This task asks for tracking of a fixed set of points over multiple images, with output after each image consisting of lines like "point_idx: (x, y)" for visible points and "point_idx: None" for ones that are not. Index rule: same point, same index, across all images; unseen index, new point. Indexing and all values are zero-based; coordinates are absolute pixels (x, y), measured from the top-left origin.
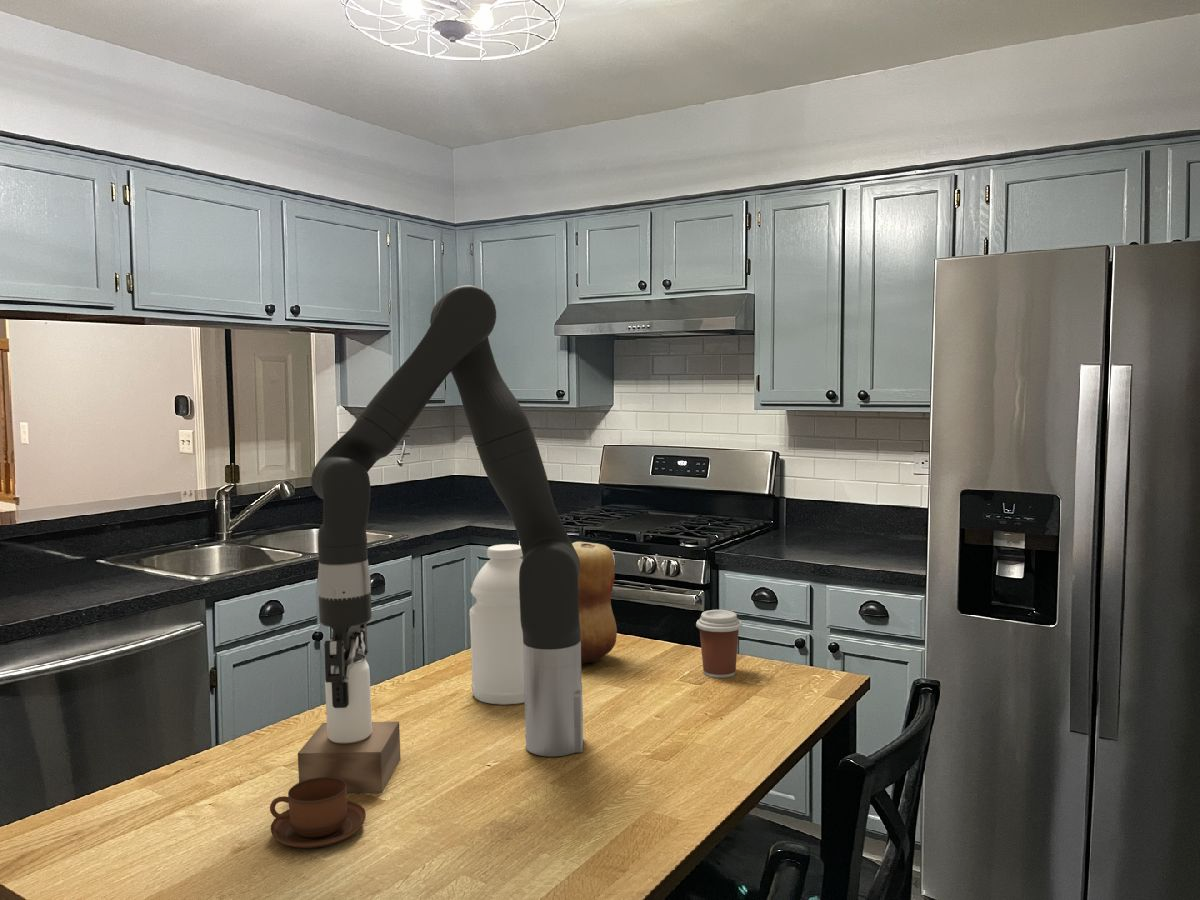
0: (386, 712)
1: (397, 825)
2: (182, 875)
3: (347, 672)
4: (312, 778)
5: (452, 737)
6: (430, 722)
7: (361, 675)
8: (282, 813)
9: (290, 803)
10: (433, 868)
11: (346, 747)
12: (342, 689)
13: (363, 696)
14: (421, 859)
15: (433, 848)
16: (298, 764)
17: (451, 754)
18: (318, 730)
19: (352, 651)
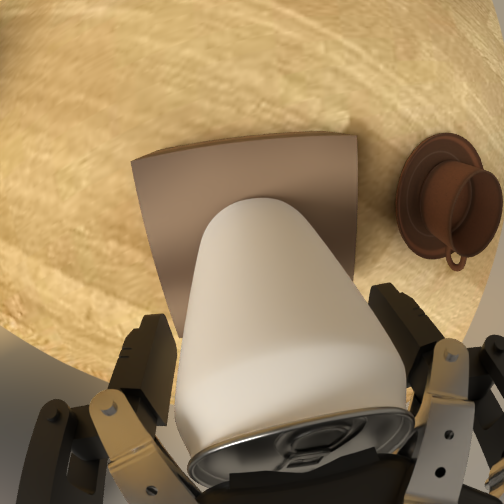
0: (8, 266)
1: (424, 86)
2: (471, 291)
3: (456, 374)
4: None
5: (54, 98)
6: (10, 176)
7: (372, 330)
8: (424, 257)
9: (482, 240)
10: (486, 49)
11: (327, 232)
12: (438, 330)
13: (325, 259)
14: (477, 59)
15: (460, 43)
16: None
17: (128, 58)
18: None
19: (462, 472)
